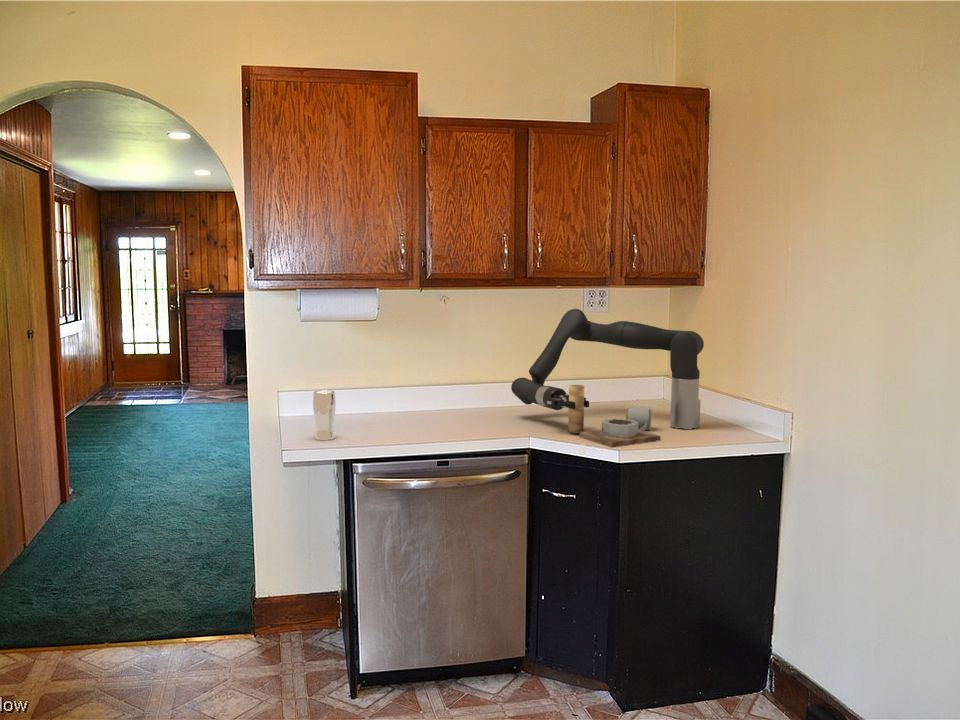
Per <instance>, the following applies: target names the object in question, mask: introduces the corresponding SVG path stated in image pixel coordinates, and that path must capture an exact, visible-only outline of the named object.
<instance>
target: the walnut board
mask: <svg viewBox="0 0 960 720" xmlns="http://www.w3.org/2000/svg"><path fill="white" fill-rule="evenodd" d="M579 438H581V439H584V440H587V441H590V442H594V443H597V444H600V445H603V446H606V447H609V448H615V447H616V446H617V447H623V445H624V446H629V444H631V445H636V444H635V443H638V444H644V443H643V442H645V443H649V442H648V441H652V442H657V441H656V440H660V441H661V435H660V434H659V435H658V434H655V433H652V432H648V431H646V430H645V431H641V430H638V436H636V437H632V438H614V437H608V436H604V435H603V434H602V429H599V430H593V431H591V430H590V431H583V432H579Z"/></svg>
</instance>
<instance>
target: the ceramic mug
mask: <svg viewBox="0 0 960 720" xmlns="http://www.w3.org/2000/svg"><path fill="white" fill-rule="evenodd" d="M651 413H652V411H651V408H650V407H649V406H646V407H630V408H627V409H626V411H625V419H629V420H634V421H637V422H638V423H639V424H638V430H641V431H645V432H646V431H650V430H651V427H652V425H651V424H652V422H651V421H652V419H651V416H652V415H651Z"/></svg>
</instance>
